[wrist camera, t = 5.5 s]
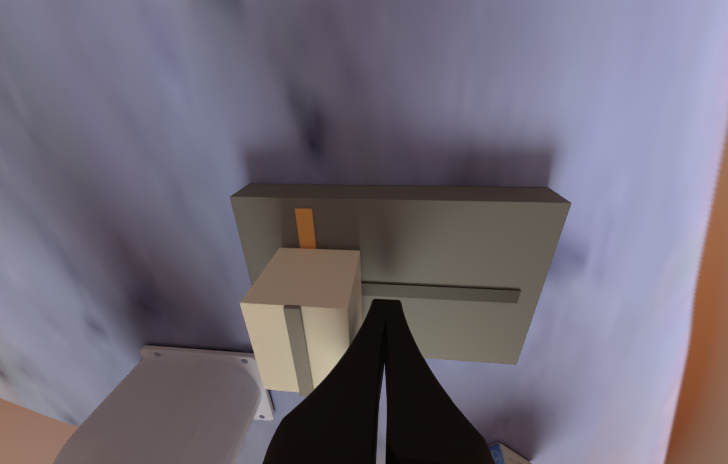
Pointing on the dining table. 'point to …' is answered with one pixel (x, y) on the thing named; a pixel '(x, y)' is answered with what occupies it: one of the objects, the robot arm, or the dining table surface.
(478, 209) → the fader panel
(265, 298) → the fader knob
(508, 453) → the medicine box
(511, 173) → the dining table surface
